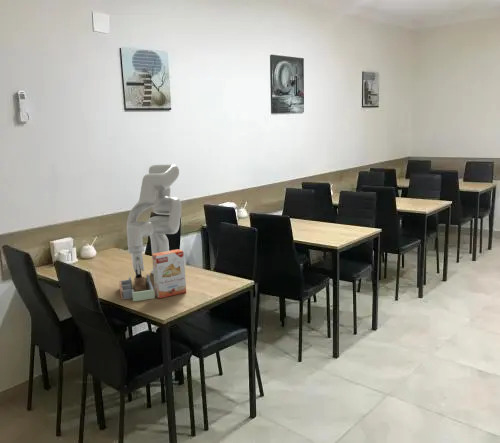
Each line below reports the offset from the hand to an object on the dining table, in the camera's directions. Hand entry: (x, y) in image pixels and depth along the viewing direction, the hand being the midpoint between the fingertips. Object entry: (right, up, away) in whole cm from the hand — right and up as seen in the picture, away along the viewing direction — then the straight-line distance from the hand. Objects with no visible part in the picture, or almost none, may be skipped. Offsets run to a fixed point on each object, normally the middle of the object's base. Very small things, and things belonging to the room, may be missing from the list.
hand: (139, 283), depth 248 cm
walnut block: (+2, -2, -5) cm, 5 cm away
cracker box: (+19, -3, -16) cm, 25 cm away
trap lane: (+1, -3, -10) cm, 10 cm away
